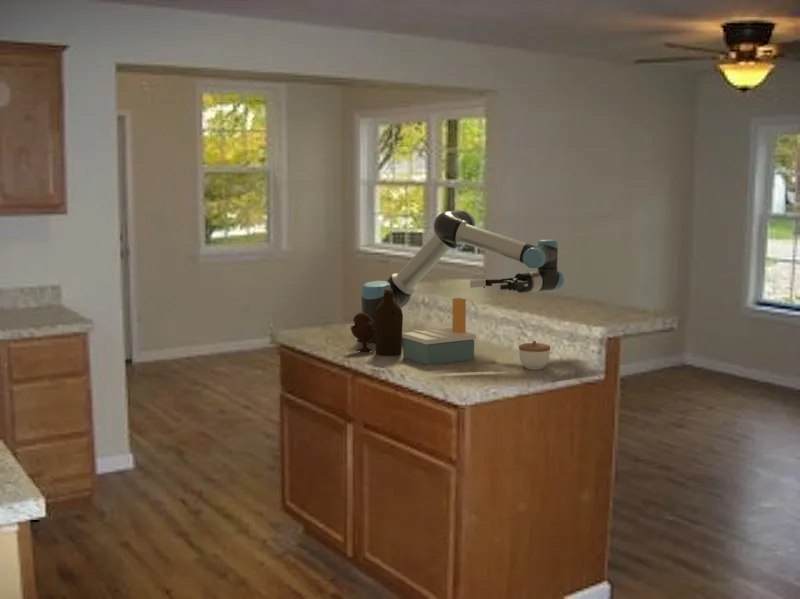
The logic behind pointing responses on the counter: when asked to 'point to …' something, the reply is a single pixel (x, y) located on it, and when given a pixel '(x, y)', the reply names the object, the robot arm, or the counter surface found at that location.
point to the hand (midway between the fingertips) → (481, 285)
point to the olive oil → (388, 326)
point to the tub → (438, 351)
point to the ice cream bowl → (363, 330)
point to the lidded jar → (534, 355)
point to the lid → (446, 334)
